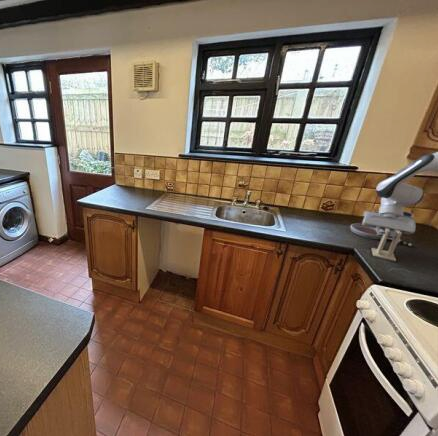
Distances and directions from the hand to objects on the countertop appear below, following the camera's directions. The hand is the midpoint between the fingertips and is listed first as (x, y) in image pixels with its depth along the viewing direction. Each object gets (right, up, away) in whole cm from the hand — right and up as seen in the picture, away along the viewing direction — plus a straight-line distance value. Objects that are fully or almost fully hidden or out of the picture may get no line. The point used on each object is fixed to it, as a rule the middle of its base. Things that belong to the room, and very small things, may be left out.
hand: (385, 236), depth 126 cm
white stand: (-6, -9, -5) cm, 12 cm away
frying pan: (+11, -1, +16) cm, 20 cm away
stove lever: (-3, 0, -4) cm, 5 cm away
